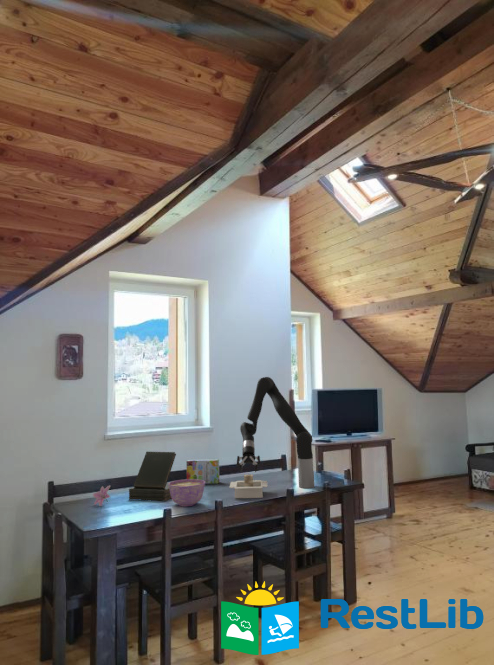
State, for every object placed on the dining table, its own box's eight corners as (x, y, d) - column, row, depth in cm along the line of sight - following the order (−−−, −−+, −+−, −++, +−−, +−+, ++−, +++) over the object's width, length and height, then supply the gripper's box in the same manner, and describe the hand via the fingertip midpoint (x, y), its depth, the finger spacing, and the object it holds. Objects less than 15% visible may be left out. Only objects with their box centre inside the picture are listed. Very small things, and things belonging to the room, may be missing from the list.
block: (253, 493, 278) (252, 474, 279) (253, 495, 273) (252, 476, 274) (244, 494, 278) (244, 474, 279) (244, 496, 273) (244, 476, 274)
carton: (267, 490, 286) (267, 480, 286) (268, 498, 264) (267, 487, 265) (231, 491, 286) (231, 481, 287) (229, 499, 265) (229, 488, 265)
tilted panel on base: (128, 500, 272) (128, 455, 275) (146, 492, 291) (146, 450, 294) (164, 502, 265) (164, 456, 268) (180, 494, 283) (180, 451, 286)
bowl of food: (160, 505, 255) (160, 483, 256) (188, 498, 270) (188, 477, 271) (185, 511, 242) (185, 488, 243) (213, 503, 257) (213, 481, 258)
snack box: (219, 482, 315) (219, 458, 317) (218, 483, 310) (217, 460, 311) (188, 482, 317) (187, 459, 319) (186, 484, 312) (186, 460, 314)
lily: (92, 504, 267) (87, 491, 264) (112, 493, 273) (107, 480, 269) (98, 515, 257) (93, 501, 254) (119, 504, 263) (113, 490, 259)
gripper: (236, 445, 294) (236, 467, 282) (259, 445, 294) (260, 467, 281) (237, 453, 299) (236, 475, 286) (260, 452, 299) (260, 474, 286)
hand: (248, 471), depth 284 cm, fingers open, 8 cm apart
